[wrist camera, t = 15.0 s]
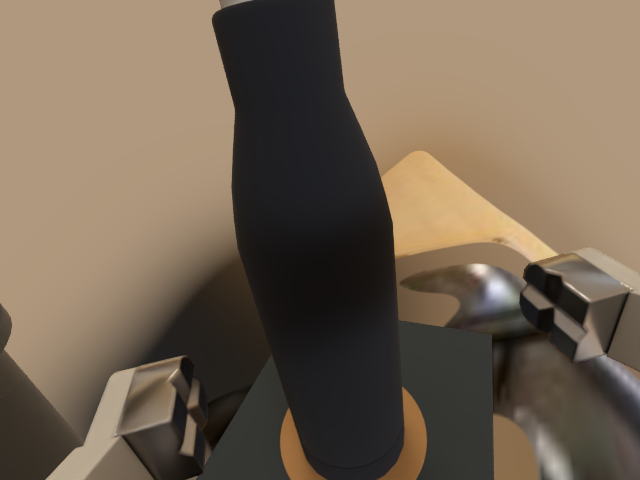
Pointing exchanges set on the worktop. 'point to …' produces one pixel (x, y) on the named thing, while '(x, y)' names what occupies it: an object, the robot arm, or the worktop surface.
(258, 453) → the centre mat
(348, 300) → the wine bottle
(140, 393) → the robot arm
